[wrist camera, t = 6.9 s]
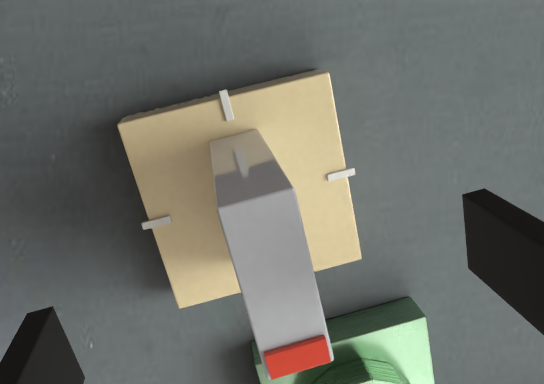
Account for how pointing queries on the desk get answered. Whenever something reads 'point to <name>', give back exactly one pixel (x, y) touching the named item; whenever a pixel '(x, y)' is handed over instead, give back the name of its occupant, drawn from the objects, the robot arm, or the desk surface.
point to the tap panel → (200, 188)
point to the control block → (370, 349)
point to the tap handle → (269, 254)
